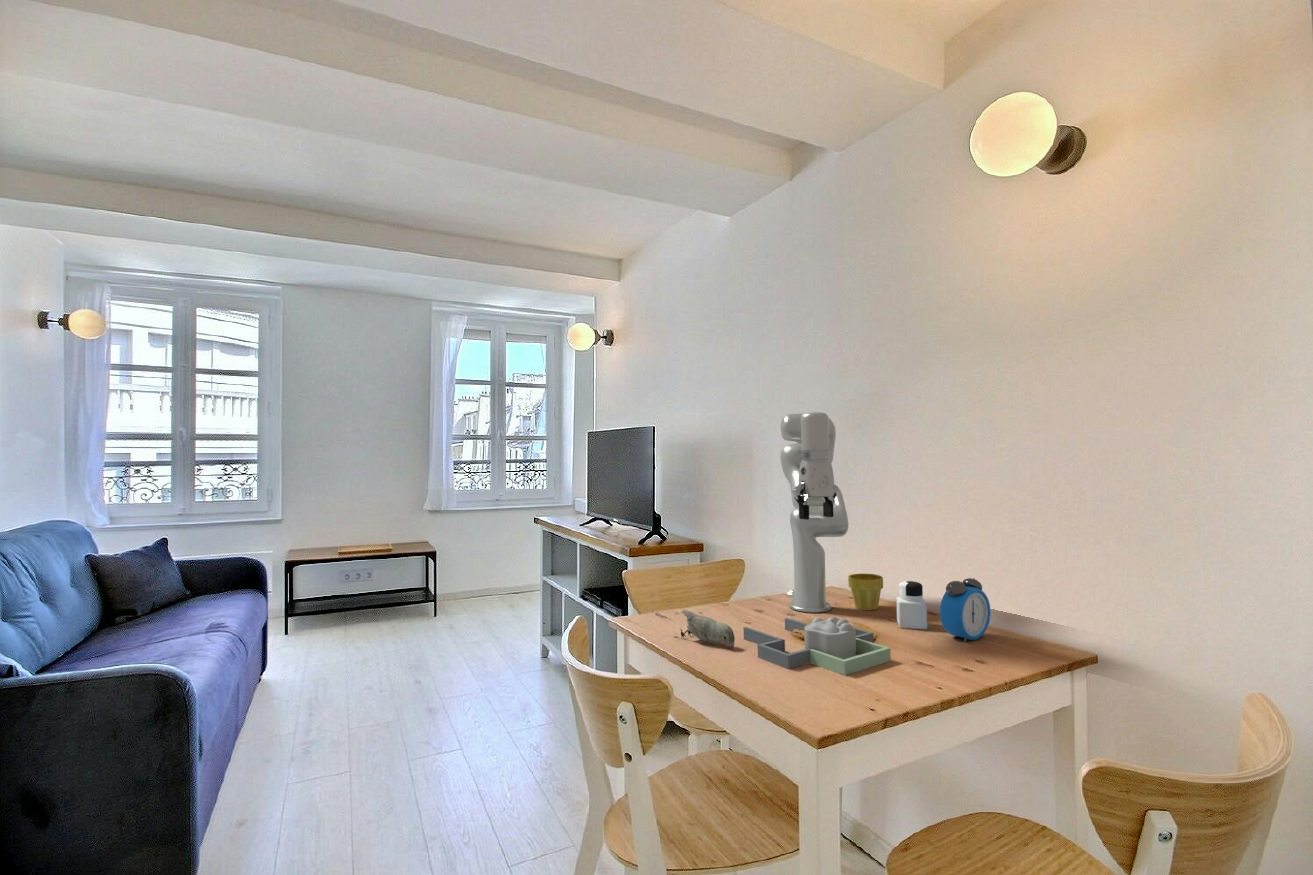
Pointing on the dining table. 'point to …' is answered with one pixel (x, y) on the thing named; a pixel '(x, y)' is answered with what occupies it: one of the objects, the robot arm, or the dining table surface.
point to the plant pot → (865, 590)
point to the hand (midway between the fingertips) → (816, 517)
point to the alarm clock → (965, 609)
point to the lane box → (775, 651)
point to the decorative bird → (708, 629)
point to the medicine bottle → (911, 606)
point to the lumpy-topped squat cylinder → (831, 637)
